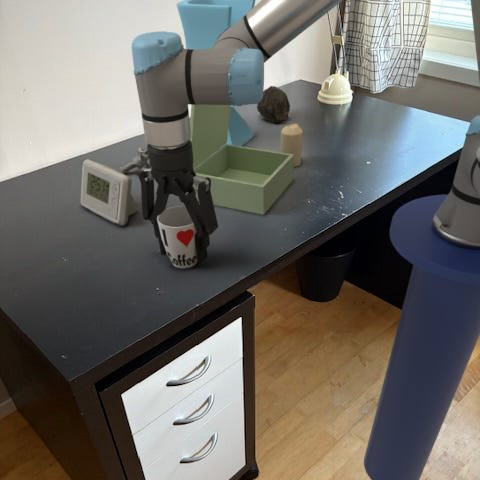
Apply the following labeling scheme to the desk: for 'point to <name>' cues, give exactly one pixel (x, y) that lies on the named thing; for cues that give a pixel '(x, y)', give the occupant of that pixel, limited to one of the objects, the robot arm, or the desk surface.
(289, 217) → the desk surface
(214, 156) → the chest
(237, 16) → the planter
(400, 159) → the desk surface
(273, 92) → the rock
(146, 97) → the robot arm
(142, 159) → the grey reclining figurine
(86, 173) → the digital clock
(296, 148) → the candle
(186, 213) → the cup
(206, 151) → the lid
